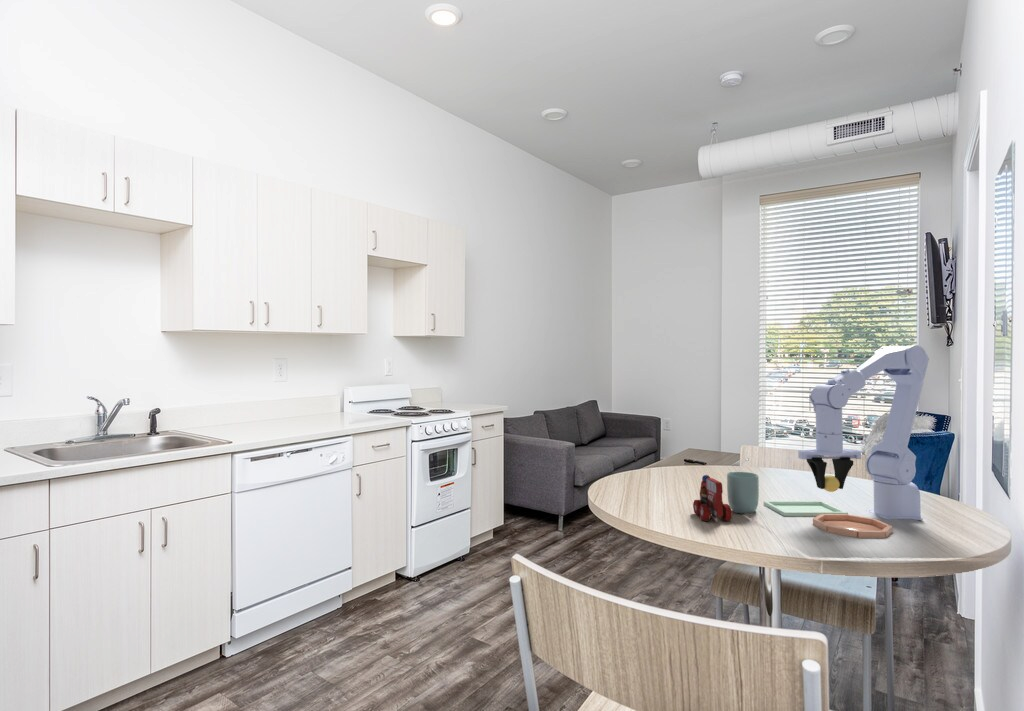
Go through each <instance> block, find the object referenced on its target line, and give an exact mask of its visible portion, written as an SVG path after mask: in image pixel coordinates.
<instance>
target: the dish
mask: <svg viewBox="0 0 1024 711" xmlns="http://www.w3.org/2000/svg"><path fill="white" fill-rule="evenodd" d="M812 524H813V526H815V527H817V528H820V529H821V530H823V531H825V532H827V533H832V534H837V535H842V536H847V537H852V538H861V539H862V538H865V539H870V538H871V539H872V538H873V539H878V538H880V539H881V538H882V539H884V538H888V537H889V536H890V535H891V534H892V533H893V532H894V531H893V530H894V529H893V526H892V525H891V524H889V523H886V522H884V521H881V520H879V519H876V518H872V517H865V516H860V515H856V514H855V515H854V514H849V513H848V514H847V515H846V514H820V515H818V516H814V517H813V518H812Z"/></svg>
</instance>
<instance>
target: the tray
mask: <svg viewBox="0 0 1024 711" xmlns="http://www.w3.org/2000/svg"><path fill="white" fill-rule="evenodd" d="M763 507H767V508H769V509H771V510H772V511H775V513H778V514H780V515H781V516H783V517H817V516H818V515H820V514H846V515H847V514H849V512H848V511H845V510H844V509H841V508H838V507H836V506H834V505H832V504H830V503H827V502H826V501H823V500H808V501H807V500H763Z"/></svg>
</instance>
